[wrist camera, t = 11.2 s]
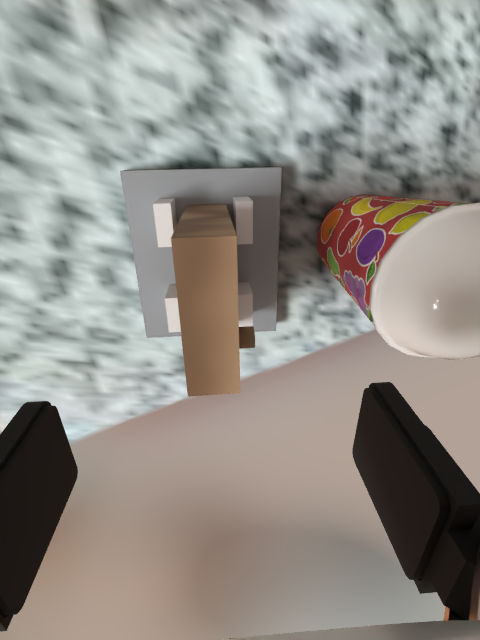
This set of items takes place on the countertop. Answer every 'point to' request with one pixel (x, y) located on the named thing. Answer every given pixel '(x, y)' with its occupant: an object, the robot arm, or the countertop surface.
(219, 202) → the hinge base
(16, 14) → the countertop surface
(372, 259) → the smoothie
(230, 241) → the door
